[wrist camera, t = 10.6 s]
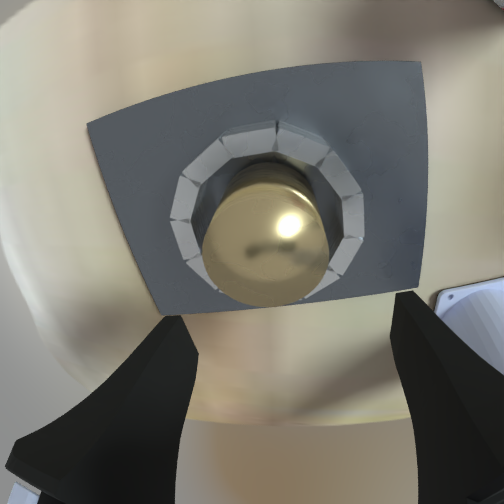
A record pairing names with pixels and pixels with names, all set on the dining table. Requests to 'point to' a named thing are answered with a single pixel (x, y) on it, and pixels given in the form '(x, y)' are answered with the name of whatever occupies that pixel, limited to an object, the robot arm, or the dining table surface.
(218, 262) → the cylinder
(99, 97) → the dining table surface
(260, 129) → the socket plate
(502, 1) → the beverage can
